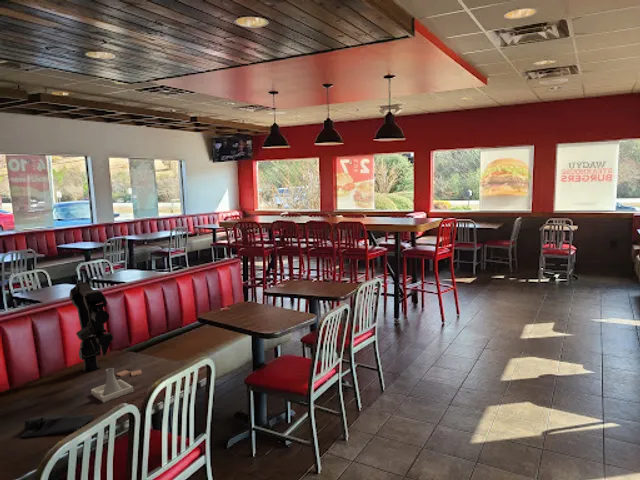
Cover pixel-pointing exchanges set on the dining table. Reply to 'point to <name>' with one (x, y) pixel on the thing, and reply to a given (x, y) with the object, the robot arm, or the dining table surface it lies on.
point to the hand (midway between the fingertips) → (100, 353)
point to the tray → (104, 398)
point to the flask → (111, 383)
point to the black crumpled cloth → (54, 424)
